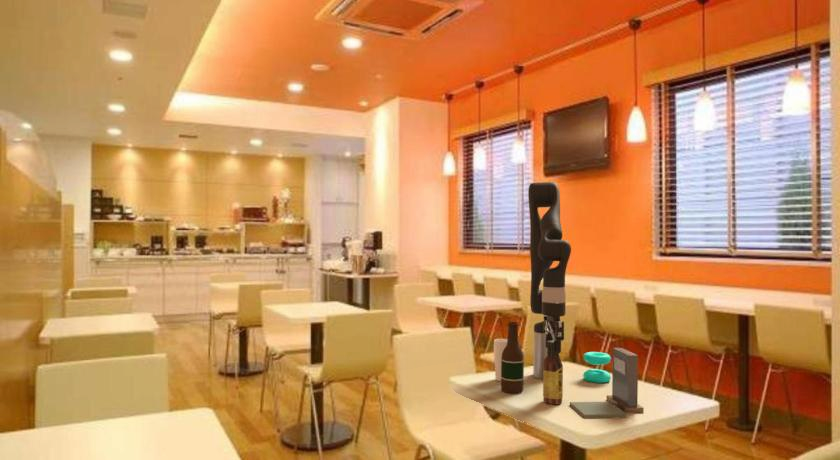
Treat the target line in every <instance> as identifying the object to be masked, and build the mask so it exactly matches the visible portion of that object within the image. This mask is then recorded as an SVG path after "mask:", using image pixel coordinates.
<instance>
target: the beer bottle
mask: <svg viewBox="0 0 840 460" xmlns="http://www.w3.org/2000/svg"><path fill="white" fill-rule="evenodd" d="M507 326H508V330H507V339H508V340H507V345H506V347H505V348H504V350H503V353H502V359H501V381H500V389H501V392H503V393H505V394H510V395H512V394H513V395H517V394H522V393H523V391H524V384H525V382H524V376H525V373H524V372H525V371H524V368H525V364H524V363H525V362H524V361H525V358H524V352H523V350H522V348H521V346H520V343H519V330H518V327H519V323H518V322H516V321H508V323H507Z"/></svg>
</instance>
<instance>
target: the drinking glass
mask: <svg viewBox="0 0 840 460" xmlns="http://www.w3.org/2000/svg"><path fill="white" fill-rule="evenodd" d="M507 340H508V338H496V339H494V340H493V357H494V358H493V360H494V361H493V362H494V373H495V374H494V375H495V377H494V378H495V381H498V382H501V359H502V353H503V350H504V348H505V347H506V345H507Z"/></svg>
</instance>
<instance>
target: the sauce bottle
mask: <svg viewBox="0 0 840 460" xmlns="http://www.w3.org/2000/svg"><path fill="white" fill-rule="evenodd" d="M563 370H564V366H563V363H562V360H561V357H560V353H554V341H547V357H546V358H545V360H544V370H543V380H542V383H543V384H542V385H543V386H542V396H543V402H544V403H545V404H548V405H560V404H562V402H563V395H564V392H563V391H564V389H563V387H564V385H563V384H564V382H563V381H564V380H563V379H564V375H563V373H564V371H563Z"/></svg>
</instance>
